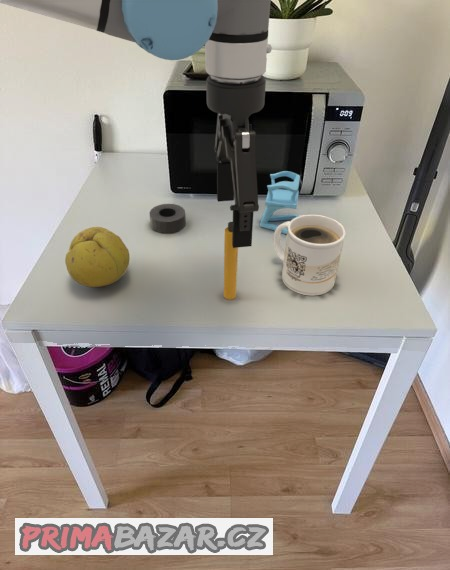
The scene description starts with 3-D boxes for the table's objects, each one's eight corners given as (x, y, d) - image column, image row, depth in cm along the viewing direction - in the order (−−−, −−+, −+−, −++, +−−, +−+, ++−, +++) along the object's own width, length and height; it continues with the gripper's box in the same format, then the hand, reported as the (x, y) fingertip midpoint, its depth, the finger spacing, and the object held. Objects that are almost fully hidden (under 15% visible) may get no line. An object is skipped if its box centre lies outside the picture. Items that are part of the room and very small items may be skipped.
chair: (262, 214, 101) (266, 164, 93) (299, 218, 99) (306, 168, 92) (257, 232, 95) (261, 180, 87) (296, 236, 94) (304, 185, 86)
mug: (285, 298, 78) (292, 247, 71) (270, 259, 87) (274, 209, 80) (342, 293, 80) (354, 242, 73) (321, 254, 89) (330, 206, 82)
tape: (151, 235, 93) (150, 223, 91) (150, 216, 99) (148, 204, 97) (187, 232, 94) (186, 220, 92) (183, 214, 100) (183, 202, 98)
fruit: (138, 262, 86) (132, 218, 79) (124, 302, 77) (116, 256, 70) (82, 259, 86) (72, 215, 80) (61, 299, 77) (47, 253, 71)
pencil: (224, 300, 78) (226, 227, 68) (222, 292, 79) (223, 220, 70) (236, 299, 78) (240, 226, 68) (234, 291, 80) (237, 219, 70)
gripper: (293, 106, 46) (277, 266, 60) (244, 51, 65) (240, 182, 79) (223, 109, 45) (222, 272, 59) (194, 53, 64) (198, 186, 78)
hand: (233, 221), depth 69 cm, fingers open, 13 cm apart
